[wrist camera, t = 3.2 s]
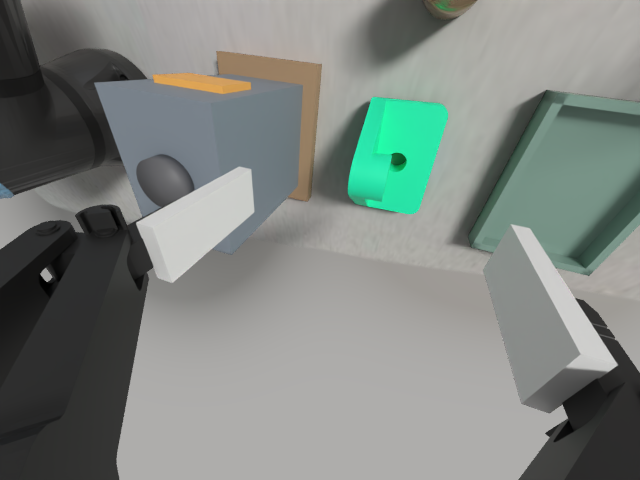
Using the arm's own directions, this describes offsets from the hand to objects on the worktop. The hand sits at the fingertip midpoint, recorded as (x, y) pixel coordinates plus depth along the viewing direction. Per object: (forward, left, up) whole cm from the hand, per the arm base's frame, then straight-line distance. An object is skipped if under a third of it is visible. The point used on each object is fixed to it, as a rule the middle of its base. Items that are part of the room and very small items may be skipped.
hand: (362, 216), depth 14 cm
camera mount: (+1, -2, -21) cm, 21 cm away
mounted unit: (-15, -2, -20) cm, 25 cm away
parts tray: (+19, -2, -20) cm, 28 cm away
